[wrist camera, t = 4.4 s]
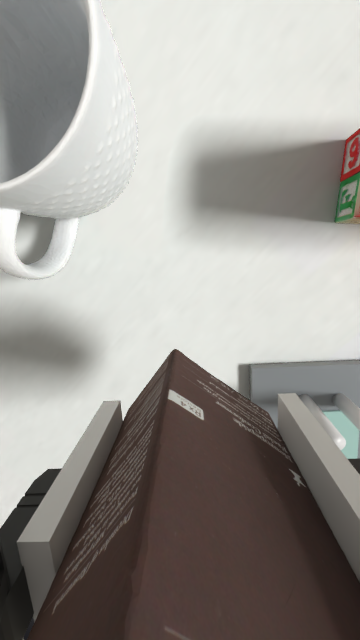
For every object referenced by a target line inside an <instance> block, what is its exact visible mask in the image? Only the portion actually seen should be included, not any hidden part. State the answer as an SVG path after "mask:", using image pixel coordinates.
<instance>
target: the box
mask: <svg viewBox="0 0 360 640" xmlns="http://www.w3.org/2000/svg"><path fill="white" fill-rule="evenodd" d="M27 640H360V582H359V580H358V579H357V577H356V575H355V573H354V571H353V569H352V568H351V566H350V564H349V562H348V560H347V558H346V556H345V554H344V552H343V550H342V549H341V547H340V545H339V544H338V542H337V540H336V538H335V536H334V534H333V532H332V530H331V528H330V527H329V525H328V523H327V521H326V519H325V518H324V516H323V514H322V512H321V510H320V508H319V506H318V504H317V502H316V501H315V499H314V497H313V495H312V493H311V491H310V489H309V487H308V486H307V483H306V481H305V479H304V478H303V476H302V474H301V472H300V470H299V468H298V466H297V464H296V462H295V461H294V459H293V457H292V455H291V453H290V452H289V450H288V448H287V446H286V444H285V442H284V441H283V439H282V437H281V435H280V433H279V431H278V429H277V428H276V426H275V424H274V422H273V420H272V418H271V417H270V414H269V413H268V412H267V411H265V410H264V409H262V408H261V407H259V406H258V405H256V404H254V403H253V402H251V401H250V400H248V399H247V398H245V397H244V396H242V395H241V394H239V393H238V392H236V391H235V390H233V389H232V388H231V387H229V386H228V385H226V384H225V383H223V382H222V381H220V380H218V379H217V378H216V377H214V376H213V375H211V374H210V373H208V372H207V371H206V370H204V369H203V368H201V367H200V366H199V365H197V364H196V363H195V362H193V361H192V360H190V359H189V358H188V357H186V356H185V355H184V354H183V353H181V352H180V351H179V350H177V349H174V350H173V351H172V352H171V353H170V354H169V356H168V357H167V358H166V360H165V361H164V363H163V364H162V365H161V367H160V368H159V369H158V371H157V372H156V373H155V375H154V376H153V377H152V379H151V380H150V381H149V383H148V384H147V385H146V387H145V388H144V389H143V391H142V392H141V393H140V395H139V396H138V398H137V399H136V400H135V402H134V403H133V404H132V405H131V407H130V408H129V410H128V412H127V414H126V416H125V418H124V421H123V423H122V425H121V428H120V430H119V433H118V435H117V437H116V440H115V442H114V444H113V447H112V449H111V452H110V454H109V456H108V458H107V461H106V463H105V465H104V467H103V469H102V472H101V475H100V477H99V479H98V481H97V483H96V486H95V488H94V490H93V492H92V495H91V497H90V499H89V502H88V504H87V506H86V509H85V511H84V513H83V515H82V517H81V520H80V522H79V525H78V527H77V529H76V532H75V533H74V535H73V537H72V539H71V542H70V544H69V546H68V548H67V551H66V553H65V556H64V558H63V560H62V563H61V565H60V567H59V569H58V571H57V573H56V576H55V578H54V580H53V582H52V584H51V587H50V589H49V592H48V594H47V597H46V599H45V601H44V603H43V605H42V607H41V609H40V611H39V614H38V616H37V618H36V620H35V623H34V625H33V627H32V630H31V632H30V634H29V637H28V639H27Z"/></svg>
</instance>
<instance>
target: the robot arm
mask: <svg viewBox="0 0 360 640" xmlns="http://www.w3.org/2000/svg"><path fill="white" fill-rule="evenodd" d="M122 423H123V420H122V412H121V403H120V401H104V402H103V403H102V405H101V406H100V408H99V410H98V411H97V413H96V414H95V416H94V418H93V419H92V421H91V423H90V424H89V426H88V427H87V429H86V431H85V432H84V434H83V435H82V437H81V439H80V440H79V442H78V444H77V445H76V447H75V448H74V450H73V452H72V453H71V455H70V456H69V458H68V460H67V461H66V463H65V465H64V466H63V468H62V469H48V470H47V471H45V472H44V473H43V474H42V475H41V476H39V477H38V478H37V479H36V480H34V482H33V483H32V485H31V486H30V488H29V489H28V490H27V492H26V493H25V496H23V497H22V499H21V500H20V502H19V503H18V504H17V508H15V509H14V510H13V511H12V513H11V514H10V516H9V517H8V519H7V520H6V521H5V523H4V524H3V526H2V527H1V528H0V640H24V638H23V637H24V634H25V632H26V630H27V628H28V625H29V623H30V621H31V619H32V617H33V618H34V623H35V620H36V618H37V616H38V614H39V611H40V609H41V607H42V605H43V603H44V601H45V599H46V597H47V594H48V592H49V589H50V587H51V584H52V582H53V580H54V578H55V576H56V573H57V571H58V569H59V567H60V565H61V563H62V560H63V558H64V556H65V553H66V551H67V548H68V546H69V544H70V542H71V539H72V537H73V535H74V533H75V532H76V529H77V527H78V525H79V522H80V520H81V517H82V515H83V513H84V511H85V509H86V506H87V504H88V502H89V499H90V497H91V495H92V492H93V490H94V488H95V486H96V483H97V481H98V479H99V477H100V475H101V472H102V469H103V467H104V465H105V463H106V461H107V458H108V456H109V454H110V452H111V449H112V447H113V444H114V442H115V440H116V437H117V435H118V433H119V430H120V428H121V425H122ZM278 431H279V433H280V435H281V437H282V439H283V441H284V442H285V444H286V446H287V448H288V450H289V452H290V453H291V455H292V457H293V459H294V461H295V462H296V464H297V466H298V468H299V470H300V472H301V474H302V476H303V478H304V479H305V481H306V483H307V486H308V487H309V489H310V491H311V493H312V495H313V497H314V499H315V501H316V502H317V504H318V506H319V508H320V510H321V512H322V514H323V516H324V518H325V519H326V521H327V523H328V525H329V527H330V528H331V530H332V532H333V534H334V536H335V538H336V540H337V542H338V544H339V545H340V547H341V549H342V550H343V552H344V554H345V556H346V558H347V560H348V562H349V564H350V566H351V568H352V569H353V571H354V573H355V575H356V577H357V579H358V580H359V582H360V458H357V459H347V458H346V457H345V455H344V454H343V453H342V452H341V450H340V449H339V448H338V446H337V445H336V444H335V443H334V441H333V440H332V439H331V438H330V436H329V435H328V434H327V433H326V431H325V430H324V429H323V427H322V426H321V425H320V424H319V422H318V421H317V420H316V419H315V417H314V416H313V415H312V413H311V412H310V411H309V410H308V408H307V407H306V406H305V405H304V403H303V402H302V401H301V399H300V398H299V397H298V396H297V394H296V393H286V394H278Z"/></svg>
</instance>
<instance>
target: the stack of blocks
mask: <svg viewBox="0 0 360 640" xmlns="http://www.w3.org/2000/svg"><path fill="white" fill-rule="evenodd" d="M340 182H341V183H340V191H339V197H338V204H337V211H336V217H335V223H352V224H360V129H358V131H356V132H355V133H354V134H353V135H351V136H350V137H349V138H348V139H347V140H346V144H345V151H344V158H343V165H342V172H341V179H340Z"/></svg>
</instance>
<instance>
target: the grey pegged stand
mask: <svg viewBox="0 0 360 640" xmlns="http://www.w3.org/2000/svg"><path fill="white" fill-rule="evenodd" d="M286 393H296V394H297V396H298V397H299V398H300V399H301V401H302V402H303V403H304V405H305V406H306V407H307V408H308V410H309V411H310V412H311V413H312V415H313V416H314V417H315V419H316V420H317V421H318V422H319V424H320V425H321V426H322V427H323V429H324V430H325V431H326V433H327V434H328V435H329V436H330V438H331V439H332V440H333V441H334V443H335V444H336V445H337V446H338V448H339V449H340V450H341V452H342V453H343V454H344V455H345V457H346V458H347V459H357V458H360V360H346V361H321V362H296V363H271V364H250V401H251V402H253V403H254V404H256V405H258V406H259V407H261V408H262V409H264V410H265V411H267V412H268V413H269V414H270V417H271V418H272V420H273V422H274V424H275V426H276V428H277V429H278V394H286Z"/></svg>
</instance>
